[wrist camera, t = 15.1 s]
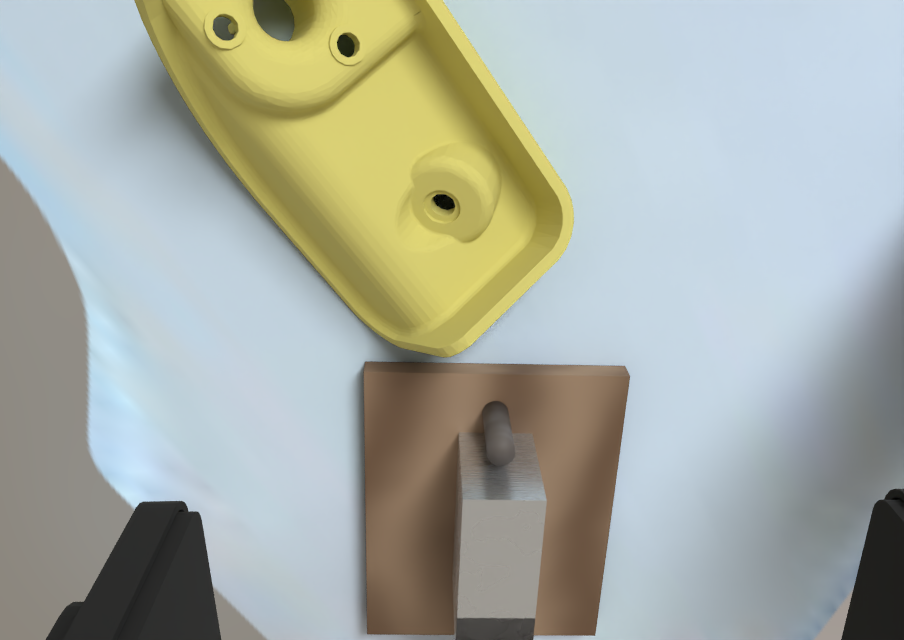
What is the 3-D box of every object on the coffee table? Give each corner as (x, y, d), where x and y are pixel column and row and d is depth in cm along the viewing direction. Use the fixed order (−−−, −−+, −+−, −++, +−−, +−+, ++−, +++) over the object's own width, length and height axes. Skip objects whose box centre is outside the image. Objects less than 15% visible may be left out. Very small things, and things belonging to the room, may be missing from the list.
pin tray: (624, 366, 44) (648, 415, 39) (591, 621, 51) (607, 688, 46) (365, 361, 43) (357, 410, 39) (368, 619, 51) (362, 687, 46)
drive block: (532, 433, 44) (546, 500, 39) (519, 578, 48) (531, 657, 43) (458, 432, 44) (462, 499, 39) (452, 577, 48) (455, 657, 43)
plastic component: (592, 226, 38) (437, 378, 36) (514, 216, 45) (380, 343, 43) (315, -193, 30) (94, -26, 28) (270, -129, 37) (90, 9, 35)
